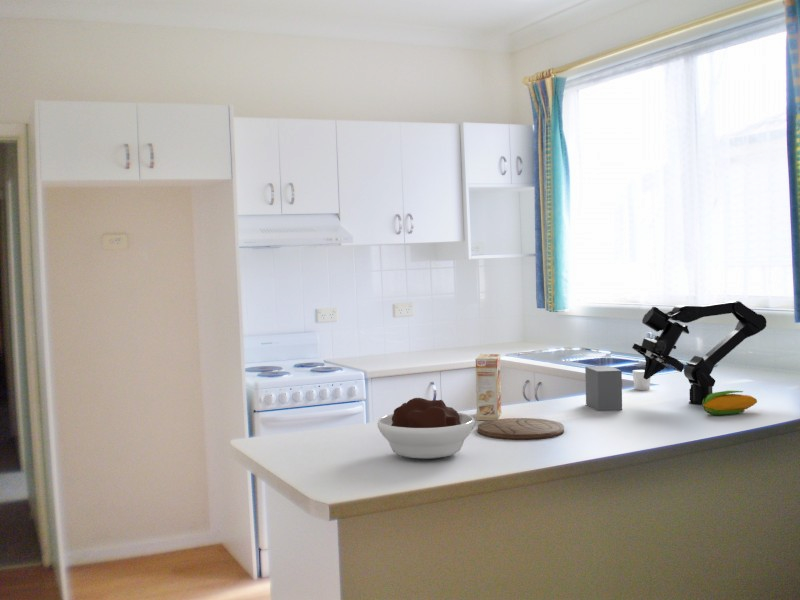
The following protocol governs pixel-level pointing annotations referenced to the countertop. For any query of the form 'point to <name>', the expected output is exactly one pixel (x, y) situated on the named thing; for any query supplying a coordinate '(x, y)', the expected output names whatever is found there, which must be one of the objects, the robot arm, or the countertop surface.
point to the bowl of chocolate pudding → (426, 429)
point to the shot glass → (640, 380)
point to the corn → (727, 403)
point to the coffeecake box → (488, 386)
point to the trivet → (520, 429)
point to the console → (604, 388)
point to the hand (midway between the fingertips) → (645, 378)
